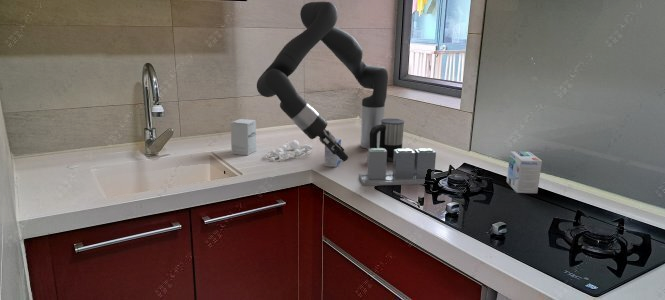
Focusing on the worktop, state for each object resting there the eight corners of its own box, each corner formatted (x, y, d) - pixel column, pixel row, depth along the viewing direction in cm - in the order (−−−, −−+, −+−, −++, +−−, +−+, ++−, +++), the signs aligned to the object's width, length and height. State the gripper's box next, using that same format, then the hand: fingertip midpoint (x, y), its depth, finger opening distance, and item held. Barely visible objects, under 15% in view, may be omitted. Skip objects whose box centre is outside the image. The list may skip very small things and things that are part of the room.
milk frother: (388, 153, 189) (390, 117, 185) (421, 162, 179) (424, 123, 175) (364, 160, 180) (366, 122, 176) (398, 170, 169) (400, 129, 165)
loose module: (367, 176, 158) (368, 147, 155) (383, 175, 159) (384, 147, 156) (368, 179, 155) (370, 150, 152) (385, 179, 155) (387, 150, 153)
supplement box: (248, 155, 183) (247, 123, 179) (231, 153, 185) (229, 121, 182) (257, 151, 189) (256, 119, 186) (240, 149, 192) (239, 118, 188)
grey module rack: (358, 177, 160) (360, 147, 158) (428, 176, 163) (430, 146, 160) (363, 185, 153) (364, 153, 150) (435, 184, 156) (438, 152, 153)
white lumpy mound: (281, 168, 173) (282, 158, 171) (256, 157, 181) (256, 147, 180) (318, 156, 186) (319, 146, 185) (293, 146, 195) (293, 137, 194)
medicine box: (336, 167, 171) (337, 144, 168) (324, 166, 172) (324, 143, 169) (340, 161, 178) (341, 138, 176) (329, 160, 179) (329, 138, 177)
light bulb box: (505, 181, 159) (509, 150, 156) (526, 182, 159) (530, 151, 156) (516, 193, 149) (520, 160, 146) (538, 193, 149) (543, 160, 146)
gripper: (320, 117, 142) (356, 153, 146) (315, 108, 155) (349, 142, 160) (302, 134, 142) (338, 170, 147) (299, 124, 156) (333, 157, 160)
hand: (344, 155), depth 153 cm, fingers open, 8 cm apart
